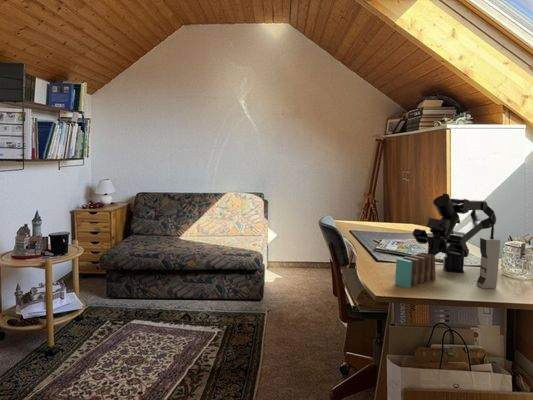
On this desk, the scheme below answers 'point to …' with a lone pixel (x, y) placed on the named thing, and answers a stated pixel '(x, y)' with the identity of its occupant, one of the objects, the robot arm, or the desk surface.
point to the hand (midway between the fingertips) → (428, 257)
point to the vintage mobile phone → (489, 260)
